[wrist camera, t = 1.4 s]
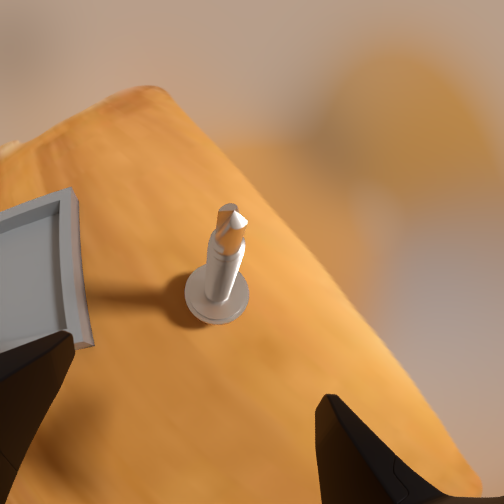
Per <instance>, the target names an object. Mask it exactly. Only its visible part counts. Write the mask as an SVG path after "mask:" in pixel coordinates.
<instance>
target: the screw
mask: <svg viewBox="0 0 504 504" xmlns="http://www.w3.org/2000/svg"><path fill="white" fill-rule="evenodd" d="M247 223H248V221H247V220H246V219H245V218H244V217H242V216H241V215H240V214H239V210H238V207H237V205H235V204H232V203H229V204H226V205H224V206H222V207H221V208H220V209H219V211H218V217H217V225H216V229H215V230H214V231H213V232H212V234H211V237H210V240H209V243H208V250H207V251H208V252H207V263H206V264H205V265H203V266H201V267H199V268H197V269H196V270H195V271H194V272H193V273H192V274H191V275H190V277H189V278H188V280H187V282H186V286H185V300H186V304H187V306H188V308H189V310H190V311H191V313H192V314H193V315H194V316H195V317H196V318H198V319H199V320H200V321H203V322H205V323H207V324H212V325H223V324H228V323H230V322H232V321H234V320H236V319H237V318H238V317H239V316H240V315H241V314H242V313H243V312H244V310H245V308H246V306H247V304H248V300H249V289H248V285H247V282H246V280H245V278H244V277H243V276H242V274H241V273H240V272H239V271H238V269H239V266H240V263H241V260H242V257H243V255H244V249H245V240H244V237H243V236H244V233H245V229H246V226H247Z"/></svg>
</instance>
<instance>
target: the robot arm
mask: <svg viewBox="0 0 504 504" xmlns="http://www.w3.org/2000/svg"><path fill="white" fill-rule="evenodd" d="M74 356H75V346H74V339H73V335H72V334H71V333H69V332H67V331H65V330H61V331H58V332H55V333H53V334H50V335H47V336H45V337H42V338H39V339H37V340H34V341H31V342H29V343H26V344H23V345H21V346H18V347H15V348H13V349H10V350H7V351H5V352H2V353H0V504H5V502H6V500H7V497H8V494H9V492H10V489H11V487H12V484H13V482H14V480H15V477H16V475H17V471H18V470H19V468H20V465H21V463H22V461H23V459H24V457H25V454H26V452H27V450H28V448H29V446H30V444H31V442H32V440H33V438H34V436H35V434H36V432H37V430H38V428H39V426H40V424H41V422H42V420H43V418H44V417H45V415H46V413H47V411H48V409H49V407H50V406H51V404H52V402H53V400H54V398H55V397H56V395H57V393H58V391H59V389H60V387H61V385H62V383H63V381H64V378H65V376H66V374H67V372H68V369H69V367H70V365H71V363H72V361H73V358H74ZM315 448H316V458H317V466H318V474H319V482H320V491H321V500H322V504H504V496H501V497H493V498H492V497H491V498H473V497H454V496H449V495H446V494H444V493H442V492H441V491H439V490H438V489H437V488H435V487H434V486H433V485H431V484H430V483H428V482H427V481H426V480H425V479H423V478H422V477H421V476H419V475H418V474H417V473H416V472H414V471H413V470H412V469H411V468H410V467H409V466H407V465H406V464H405V463H404V462H403V461H402V460H401V459H400V458H399V457H398V456H397V455H395V453H394V452H393V451H392V450H391V449H390V448H389V447H388V446H387V445H386V444H385V443H384V442H383V441H382V440H381V439H380V438H379V437H378V436H377V435H376V434H375V433H374V432H373V431H372V430H371V429H370V428H369V427H368V426H367V425H366V424H365V423H364V422H363V421H362V420H361V419H360V418H359V417H358V416H357V415H356V414H355V413H354V412H353V411H352V410H351V409H350V408H349V407H348V406H347V405H346V404H345V403H344V402H343V401H342V400H341V399H340V398H339V396H337V395H335V394H325V395H324V396H323V398H322V400H321V401H320V403H319V405H318V406H317V408H316V411H315Z"/></svg>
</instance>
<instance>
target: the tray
mask: <svg viewBox="0 0 504 504" xmlns="http://www.w3.org/2000/svg"><path fill="white" fill-rule="evenodd" d="M61 330H65V331H67V332H69V333H71V334H72V335H73V339H74V346H75V350H78V349H83V348H87V347H92V346H95V345H94V340H93V335H92V330H91V325H90V319H89V314H88V308H87V301H86V294H85V287H84V278H83V269H82V259H81V246H80V227H79V201H78V199H77V197H76V195H75V193H74V191H73V189H72V187H69V188H66V189H63V190H60V191H56V192H53V193H50V194H48V195H45V196H42V197H39V198H36V199H33V200H31V201H28V202H25V203H22V204H20V205H17V206H15V207H12V208H10V209H7V210H5V211H2V212H0V353H2V352H5V351H7V350H10V349H13V348H15V347H18V346H21V345H23V344H26V343H29V342H31V341H34V340H37V339H39V338H42V337H45V336H47V335H50V334H53V333H55V332H58V331H61Z"/></svg>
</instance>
